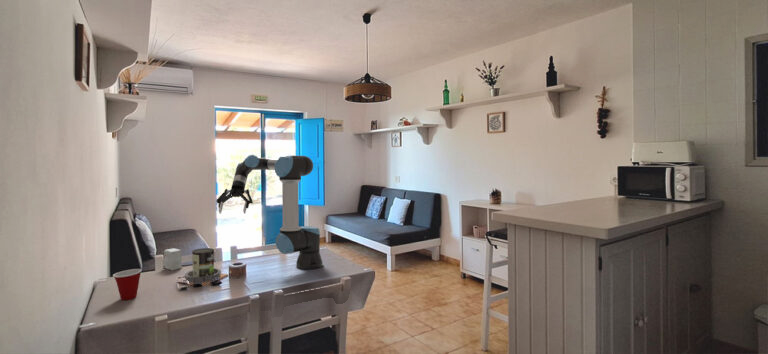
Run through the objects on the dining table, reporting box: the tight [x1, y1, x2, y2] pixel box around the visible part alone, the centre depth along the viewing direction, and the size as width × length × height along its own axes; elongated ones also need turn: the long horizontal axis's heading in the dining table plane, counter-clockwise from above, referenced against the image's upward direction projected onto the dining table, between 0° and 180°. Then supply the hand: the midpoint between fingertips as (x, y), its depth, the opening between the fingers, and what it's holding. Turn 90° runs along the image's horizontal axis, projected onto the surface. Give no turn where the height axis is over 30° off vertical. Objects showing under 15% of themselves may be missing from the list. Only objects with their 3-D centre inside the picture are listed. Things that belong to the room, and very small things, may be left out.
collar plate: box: [176, 267, 229, 287], centre depth 198 cm, size 17×17×4 cm
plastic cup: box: [112, 268, 143, 301], centre depth 171 cm, size 11×11×12 cm
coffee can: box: [191, 247, 215, 277], centre depth 198 cm, size 10×10×14 cm
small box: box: [163, 248, 183, 271], centre depth 216 cm, size 8×6×10 cm
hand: (232, 212), depth 219 cm, fingers open, 13 cm apart
